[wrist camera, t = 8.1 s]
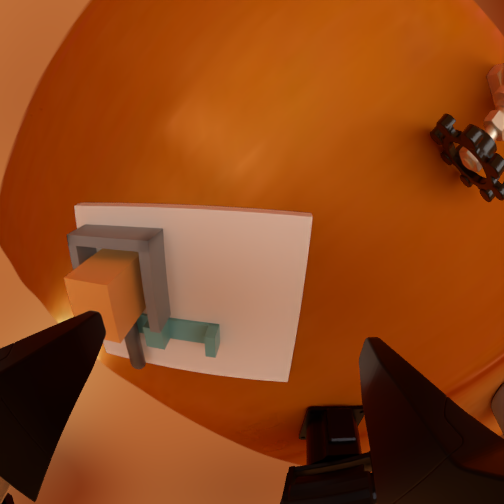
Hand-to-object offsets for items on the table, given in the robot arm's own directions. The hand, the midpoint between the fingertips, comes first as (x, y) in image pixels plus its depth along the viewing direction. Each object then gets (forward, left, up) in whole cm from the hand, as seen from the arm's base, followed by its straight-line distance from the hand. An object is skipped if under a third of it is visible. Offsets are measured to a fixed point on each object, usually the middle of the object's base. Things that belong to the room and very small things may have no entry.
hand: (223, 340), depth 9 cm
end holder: (-4, +10, -11) cm, 15 cm away
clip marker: (-9, +5, -11) cm, 15 cm away
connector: (-8, +10, -11) cm, 17 cm away
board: (-6, +5, -12) cm, 15 cm away
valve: (+11, -17, -12) cm, 24 cm away
